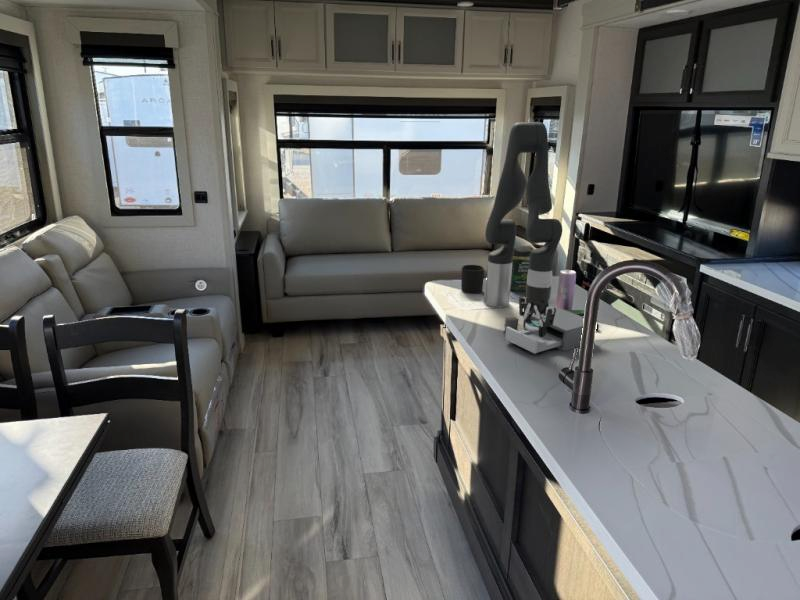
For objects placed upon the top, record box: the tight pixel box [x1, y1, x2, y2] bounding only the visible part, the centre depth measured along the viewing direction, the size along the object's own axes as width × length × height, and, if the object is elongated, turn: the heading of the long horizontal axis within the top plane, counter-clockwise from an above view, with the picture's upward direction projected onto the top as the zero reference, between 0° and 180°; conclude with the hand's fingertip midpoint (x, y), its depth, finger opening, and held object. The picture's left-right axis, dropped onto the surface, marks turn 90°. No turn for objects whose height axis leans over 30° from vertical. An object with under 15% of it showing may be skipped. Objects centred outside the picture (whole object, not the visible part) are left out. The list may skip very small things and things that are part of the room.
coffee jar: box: [510, 245, 534, 292], centre depth 234 cm, size 10×8×19 cm
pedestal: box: [503, 316, 519, 335], centre depth 190 cm, size 4×4×5 cm
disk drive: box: [566, 309, 600, 332], centre depth 200 cm, size 10×3×15 cm
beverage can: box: [555, 269, 577, 310], centre depth 211 cm, size 6×6×15 cm
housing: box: [530, 307, 584, 352], centre depth 185 cm, size 16×14×7 cm
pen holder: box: [460, 264, 485, 295], centre depth 232 cm, size 9×9×10 cm
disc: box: [525, 321, 540, 332], centre depth 178 cm, size 6×6×2 cm
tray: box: [504, 327, 563, 354], centre depth 179 cm, size 13×13×4 cm
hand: (534, 333), depth 178 cm, fingers closed on disc, 6 cm apart
